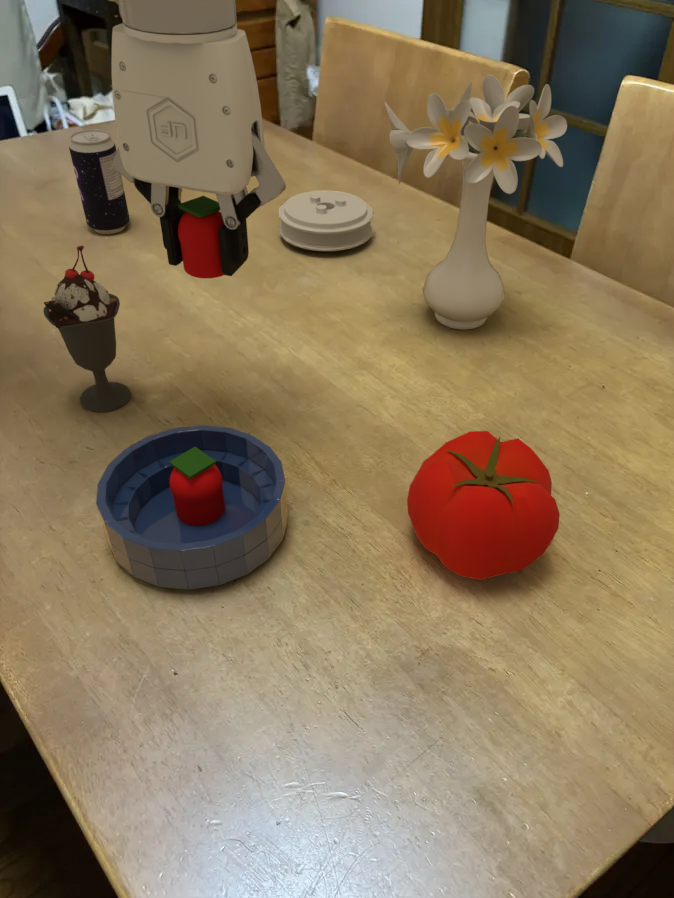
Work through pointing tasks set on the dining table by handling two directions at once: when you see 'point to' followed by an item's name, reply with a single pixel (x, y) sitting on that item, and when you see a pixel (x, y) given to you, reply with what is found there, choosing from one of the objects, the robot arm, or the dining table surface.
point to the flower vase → (476, 184)
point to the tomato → (483, 505)
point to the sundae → (89, 333)
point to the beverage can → (99, 181)
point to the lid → (325, 220)
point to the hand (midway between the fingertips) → (207, 261)
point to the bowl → (182, 545)
